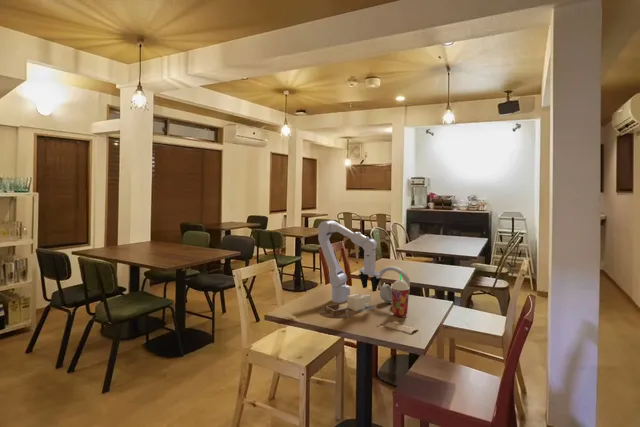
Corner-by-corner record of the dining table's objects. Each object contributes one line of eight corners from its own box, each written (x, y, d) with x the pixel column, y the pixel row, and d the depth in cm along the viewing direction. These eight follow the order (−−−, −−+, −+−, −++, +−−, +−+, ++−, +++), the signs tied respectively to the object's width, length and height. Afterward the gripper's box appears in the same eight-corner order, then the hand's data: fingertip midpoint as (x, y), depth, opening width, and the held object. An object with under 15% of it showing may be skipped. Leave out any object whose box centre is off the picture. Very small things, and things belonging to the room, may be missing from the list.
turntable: (311, 311, 189) (311, 303, 189) (341, 305, 199) (341, 297, 198) (331, 322, 174) (331, 314, 173) (363, 315, 183) (363, 307, 183)
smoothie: (409, 313, 187) (410, 273, 186) (407, 319, 180) (408, 277, 178) (392, 311, 190) (393, 271, 189) (389, 317, 182) (390, 275, 181)
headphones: (374, 302, 205) (374, 265, 204) (381, 299, 211) (382, 263, 210) (405, 309, 193) (405, 270, 192) (412, 305, 199) (413, 267, 198)
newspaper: (365, 322, 178) (366, 318, 178) (375, 318, 183) (375, 314, 183) (410, 336, 161) (410, 331, 161) (419, 331, 166) (419, 327, 166)
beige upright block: (354, 310, 188) (355, 298, 187) (347, 307, 193) (347, 295, 193) (373, 307, 194) (373, 295, 194) (365, 303, 199) (365, 292, 199)
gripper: (354, 261, 199) (354, 287, 200) (372, 266, 187) (372, 294, 188) (365, 260, 203) (365, 285, 204) (383, 264, 190) (383, 291, 191)
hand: (369, 289), depth 196 cm, fingers open, 7 cm apart
